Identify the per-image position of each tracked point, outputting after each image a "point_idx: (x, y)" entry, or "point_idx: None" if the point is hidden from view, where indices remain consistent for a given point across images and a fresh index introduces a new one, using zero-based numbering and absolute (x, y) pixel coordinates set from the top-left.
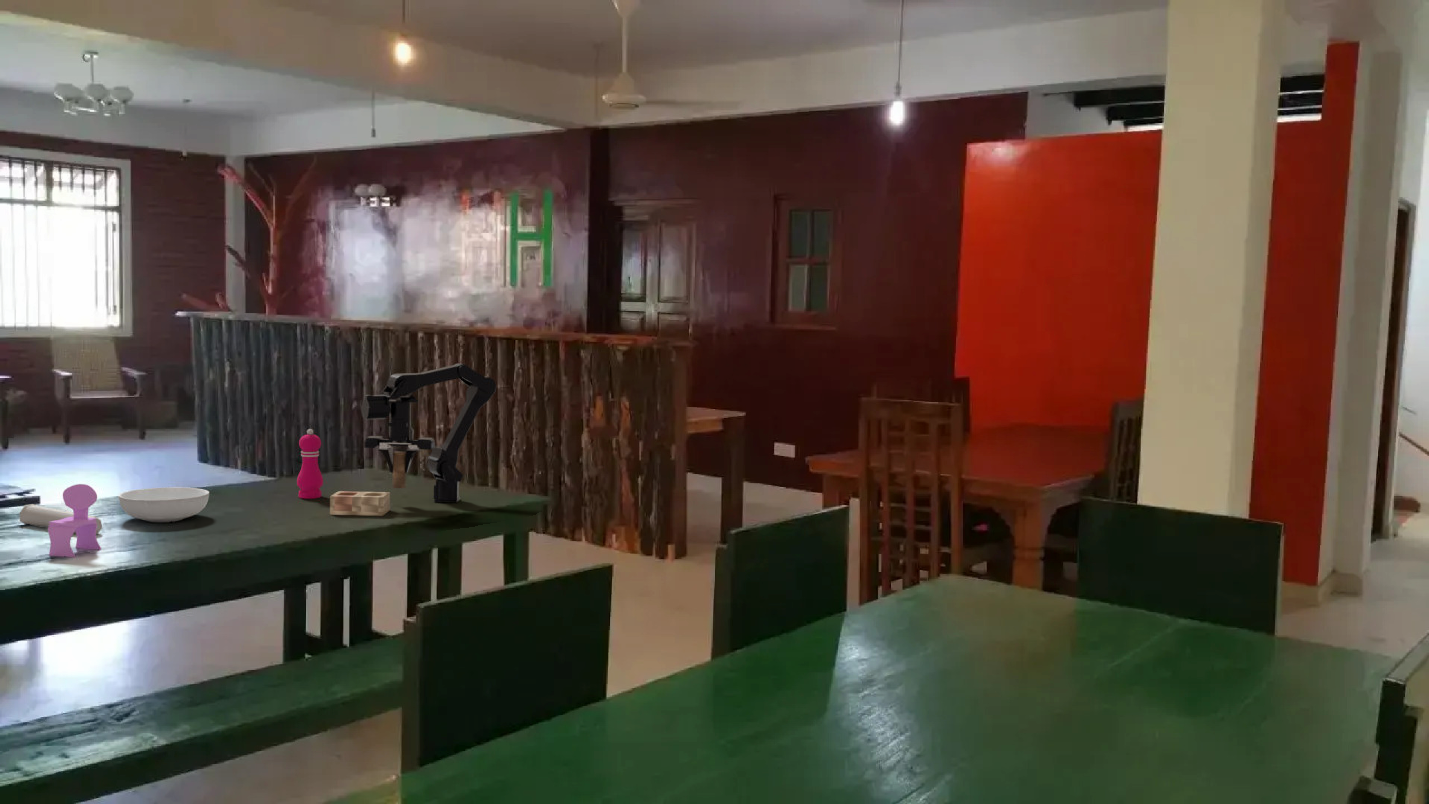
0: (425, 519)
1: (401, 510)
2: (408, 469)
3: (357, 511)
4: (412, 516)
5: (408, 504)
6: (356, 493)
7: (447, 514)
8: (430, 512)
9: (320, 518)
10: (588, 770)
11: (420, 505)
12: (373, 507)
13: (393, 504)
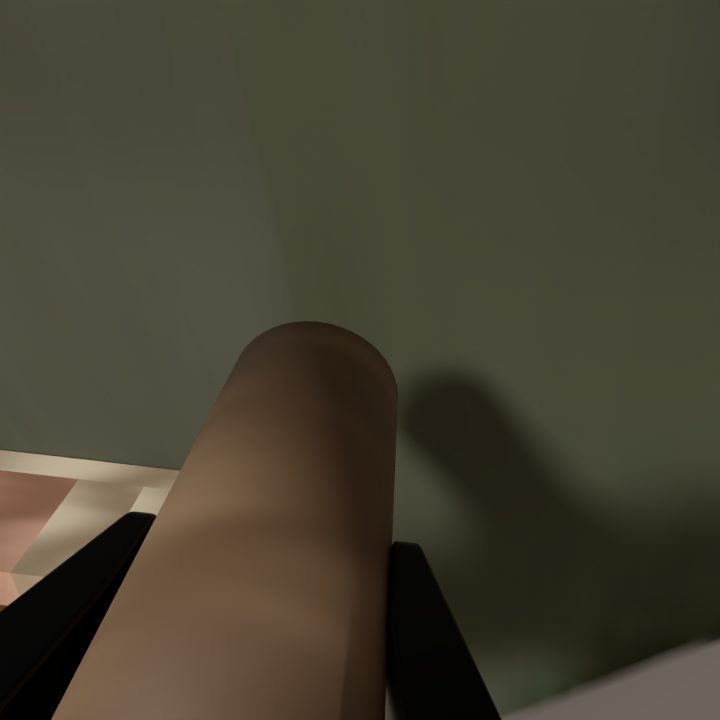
0: (554, 695)
1: (394, 492)
2: (440, 600)
3: None
4: (481, 638)
5: (428, 253)
6: (14, 599)
7: (715, 609)
8: (606, 555)
9: None
10: None
11: (547, 304)
12: None
13: (283, 255)
